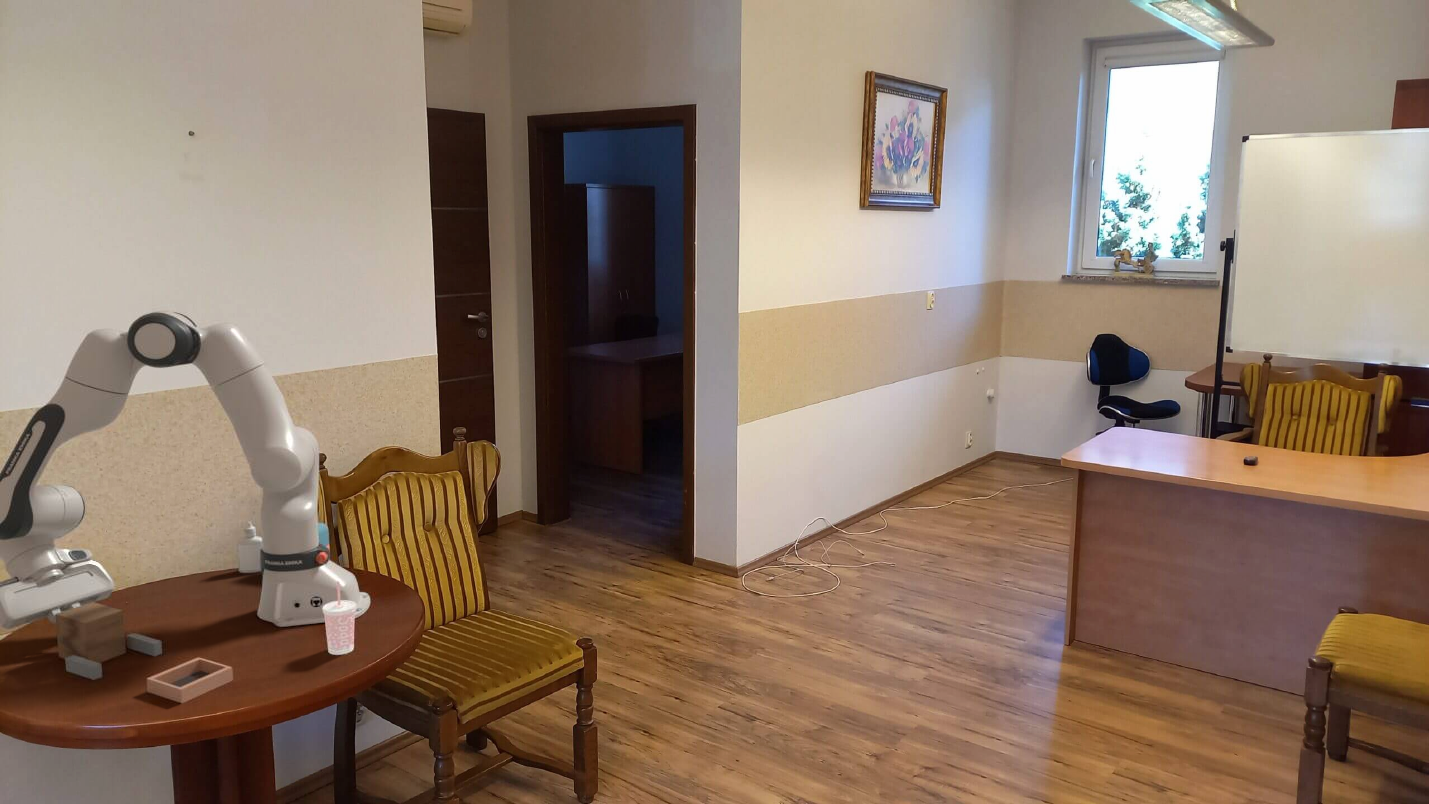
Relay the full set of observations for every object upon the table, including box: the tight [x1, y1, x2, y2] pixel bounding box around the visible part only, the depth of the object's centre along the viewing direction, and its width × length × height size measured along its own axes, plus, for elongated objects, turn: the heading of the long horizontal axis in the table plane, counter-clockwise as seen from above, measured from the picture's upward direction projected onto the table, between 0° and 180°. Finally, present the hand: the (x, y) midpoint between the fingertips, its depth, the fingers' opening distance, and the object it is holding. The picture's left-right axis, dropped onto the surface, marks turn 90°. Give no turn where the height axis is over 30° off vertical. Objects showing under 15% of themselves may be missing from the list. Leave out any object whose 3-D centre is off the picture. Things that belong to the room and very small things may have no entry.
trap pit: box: [146, 657, 234, 704], centre depth 172 cm, size 9×10×2 cm
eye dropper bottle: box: [237, 521, 262, 574], centre depth 230 cm, size 4×6×12 cm
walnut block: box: [55, 602, 127, 664], centre depth 183 cm, size 9×7×8 cm
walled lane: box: [64, 632, 163, 681], centre depth 181 cm, size 8×13×2 cm, turn 155°
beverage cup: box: [322, 581, 356, 656], centre depth 187 cm, size 6×6×14 cm
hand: (74, 628), depth 185 cm, fingers closed, pressing on walnut block
